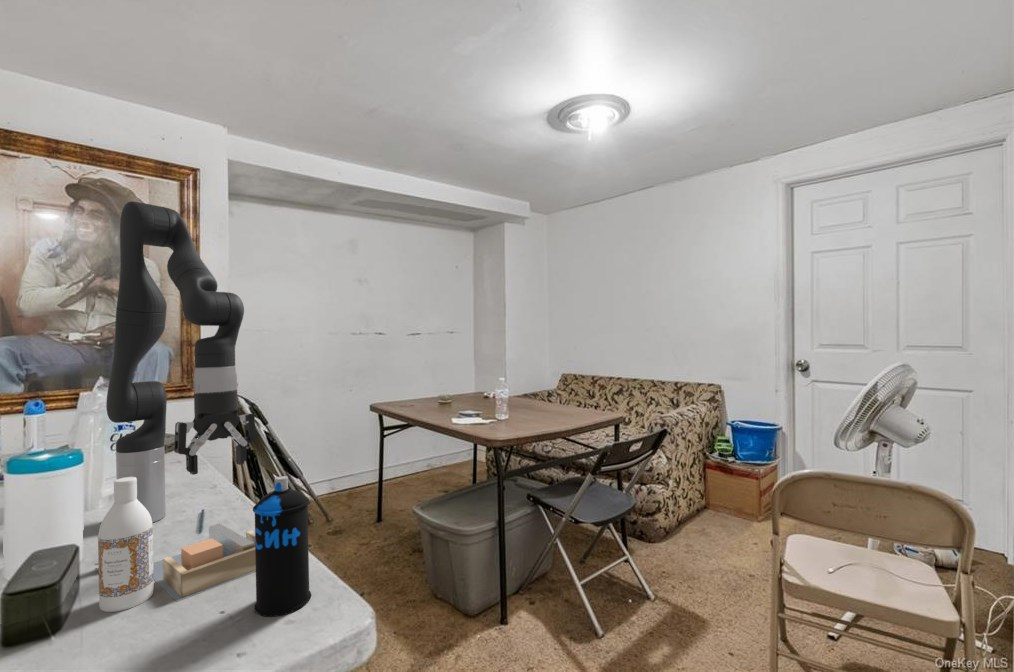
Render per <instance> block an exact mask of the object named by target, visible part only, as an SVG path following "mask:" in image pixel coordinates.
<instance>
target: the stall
mask: <svg viewBox="0 0 1014 672" xmlns="http://www.w3.org/2000/svg"><path fill="white" fill-rule="evenodd" d="M245 538H247V539H248V540H250V541H252V542H254V548H251V549H249V550H246V551H243V552H240V553H237V554H234V555H231V556H228V557H225V558H222V559H220V560H217V561H214V562H211V563H208V564H205V565H202V566H199V567H196V568H193V569H190V570H186V569H185V568H184V567H183V566H181V565H180V564H179V563H178V562H176V561H175V560H174V559H173V558H171V557H172V556H166V557H162V560H163V580H164V581H165V582H166V583H167V584H169V585H170V586H171V587H172V588H173V589H174V590H175V591H176V592H177V593H178V594H179V595H181V596H182V597H183V598H184V597H187V596H189V595H192V594H195V593H197V592H200V591H202V590H205V589H208V588H210V587H213V586H216V585H218V584H221V583H223V582H226V581H229V580H231V579H234V578H237V577H239V576H242V575H244V574H247V573H250V572H252V571H255V570H256V556H255V530H248V531H246V532H245Z"/></svg>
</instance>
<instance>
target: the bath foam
mask: <svg viewBox="0 0 1014 672" xmlns="http://www.w3.org/2000/svg"><path fill="white" fill-rule="evenodd" d="M113 498H114V500H113V501H114V503H113V504H112V506H111V507H110V508H109V510H108V512H107V513H106V514H105V516H104V518H103V519H102V521H101V523H100V525H99V530H98V536H97V546H98V547H97V548H98V552H97V554H98V558H97V559H98V561H97V563H98V565H97V566H98V569H99V570H98V604H99V609H100V610H101V611H102V612H105V613H115V612H120V611H121V612H122V611H126V610H130V609H132V608H135V607H137V606H140V605H142V604H143V603H145V602H146V601H148V600H149V599H150V598H151V597H152V596H153V594H154V591H155V590H154V589H155V587H154V582H155V580H154V572H153V563H154V527H153V522H152V519H151V516H150V514H149V512H148V510H147V509H146V508H145V507H144V506H143V505H142V504H141V503H140V502H139V501H138V500H137V478H136V477H126V478H121V479H117V478H116V479H115V480H114V481H113Z"/></svg>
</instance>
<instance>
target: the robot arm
mask: <svg viewBox="0 0 1014 672" xmlns="http://www.w3.org/2000/svg"><path fill="white" fill-rule="evenodd" d="M144 246H151V247H152V246H153V247H159V248H169V249H170V250H172V251H173V252H172V253H171V254H170V257H169V258H168V260H167V264H166V269H167V274H168V277H169V278H170V280H171V281H172V283H173V284H174V286H175V287H176V288H177V290H178V292H179V295H180V298H181V304H182V313H183V316H184V318H185V319H186V320H187V321H188V322H190V323H191V324H192V325H195V326H200V327H201V326H209V327H211V326H212V327H213V326H214V327H218V329H217V330H216V333H215V334H214V335H212V336H209V337H203V338H200V339H198V340H196V341H195V345H194V367H195V368H194V375H193V403H194V404H193V405H194V406H193V409H194V410H193V411H194V417H193V420H192V421H186V422H183V421H177V422H175V426H174V442H173V451H174V453H176V454H179V455H185V461H186V462H185V466H186V467H185V469H186V471H187V473H188V472H189V473H190V474H191V475H194V476H195V475H198V473H199V471H198V470H199V462H198V454H197V453H198V451H199V449H201V447H202V446H204V445H205V443H206V442H207V441H210V442H211V441H215V440H218V439H227V438H228V437H229V438H230V439H231V440H232V441H233V442H234V443H235V444H236V446H235V462H236V464H237V465H239V466H240V465H244V464H245V462H246V461H247V454H248V453H247V452H248V451H247V450H248V449H247V446H248V445H249V444H251V443H254V442H255V441H256V440H257V434H256V432H257V431H256V421H255V415H254V413H248V412H245V413H244V414H241V415H239V413H238V410H239V409H238V408H239V407H238V406H239V405H238V402H239V401H238V386H239V383H238V374H237V369H236V345H237V341H238V336H239V332H240V329H241V325H242V322H243V320H244V314H245V306H244V303H243V301H242V299H241V297H240V296H239V295H238V294H236V293H234V292H229V291H228V292H225V291H217V290H218V282H217V280H216V278H215V276H214V275H213V274H212V272H211V271H210V269H209V268H208V267H207V265H206V264H205V263H204V262H203V260H202V259H201V257H200V255H199V253H198V251H197V248H196V246H195V243H194V241H193V238H192V236H191V234H190V232H189V229H188V226H187V225H186V222H185V221H184V218H183V217H182V215H181V214H180V213H179V212H178V211H176V210H175V209H172V208H169V207H166V206H160V205H156V204H150V203H145V202H140V201H128V202H127V203H125V204H124V206H123V208H122V211H121V213H120V221H119V251H120V253H119V254H120V255H119V256H120V257H119V259H120V262H119V263H120V269H119V283H118V284H119V285H118V291H117V294H118V295H117V300H116V310H115V311H116V312H115V325H114V326H115V328H114V331H115V332H114V333H115V334H114V348H113V358H112V364H111V371H110V374H109V375H110V377H109V381H108V388H107V394H106V402H105V403H106V405H105V406H106V414H107V417H108V419H109V420H110V421H111V422H113V423H116V424H121V423H130V422H137V421H143V422H142V424H141V425H140V426H139V427H138V428H137V429H136V430H133V431H132V432H130V433H128V434H125V435H123V436H121V437H120V438H118V439H117V440H116V442H115V464H116V465H115V466H116V476H115V478H116V480H117V479H121V478H126V477H136V478H137V500H138V501H139V502H140V503H141V504H142V505H143V506H144V507H145V508H146V509H147V510H148V512H149V514H150V516H151V519H152V523H155V522H158V521H160V520H162V519H164V518H165V517H166V463H165V461H166V459H165V457H166V455H165V440H166V439H165V437H166V425H167V422H166V420H167V404H168V403H167V400H168V399H167V397H168V396H167V392H166V388H165V386H164V384H163V383H162V382H160V381H158V380H152V381H149V380H148V381H138V382H137V381H135V382H132V381H133V378H134V377H133V376H134V374H135V371H136V369H137V367H138V365H139V364H140V362H141V361H142V359H143V358H144V357H145V356H146V355H147V354H148V352H149V351H150V350H151V349H152V348H153V347H154V345H156V343H157V342H158V341H159V339H161V337H162V336H163V333H164V331H165V328H166V319H167V310H168V309H167V308H168V306H167V304H168V303H167V300H166V298H165V297H164V294H163V293H162V291H161V290H160V288H159V286H158V284H157V283H156V281H155V280H154V279H153V277H152V275H151V274H150V273H149V272H150V271H149V270H148V267H147V265H146V263H145V262H146V261H145V255H144ZM240 422H241V424H242V425H243V427H244V437H243V436H242V434H241V433H240V432H239V431H238V430H237V429H236V428H237V426H238V425H239V423H240ZM192 428H193V429H194V430H195V432H196V433H195V435H194V436H193V437H192V438H191V441H190V443H189V444H188V446H187V434H188V433H190V432H191V429H192Z"/></svg>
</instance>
